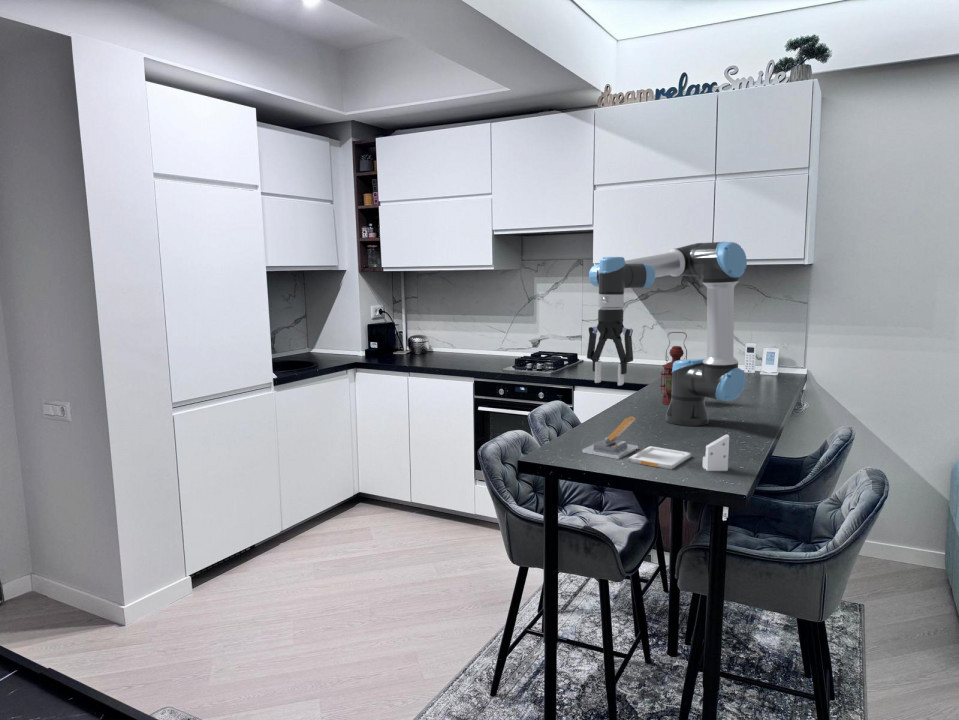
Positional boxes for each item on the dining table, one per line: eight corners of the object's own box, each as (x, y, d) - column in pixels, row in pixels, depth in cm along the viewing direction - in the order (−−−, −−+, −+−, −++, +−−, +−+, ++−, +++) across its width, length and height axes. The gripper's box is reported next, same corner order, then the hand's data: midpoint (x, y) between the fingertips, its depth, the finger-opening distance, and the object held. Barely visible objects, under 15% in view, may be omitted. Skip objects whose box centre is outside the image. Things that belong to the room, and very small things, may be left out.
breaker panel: (603, 442, 215) (603, 435, 215) (637, 448, 208) (638, 441, 208) (582, 452, 204) (582, 444, 204) (618, 458, 197) (618, 450, 197)
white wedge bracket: (743, 461, 185) (729, 435, 184) (712, 479, 186) (697, 453, 184) (738, 458, 189) (724, 432, 188) (707, 475, 189) (693, 450, 188)
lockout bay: (649, 449, 207) (650, 446, 207) (691, 456, 199) (691, 452, 199) (627, 461, 194) (627, 457, 194) (671, 469, 186) (671, 465, 186)
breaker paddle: (610, 437, 209) (632, 415, 203) (614, 441, 208) (636, 419, 203) (603, 440, 204) (624, 418, 199) (607, 445, 204) (629, 422, 199)
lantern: (687, 400, 283) (690, 330, 279) (691, 406, 271) (694, 333, 267) (658, 399, 286) (660, 330, 281) (660, 405, 274) (663, 333, 269)
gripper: (575, 308, 204) (574, 381, 207) (636, 310, 192) (634, 388, 195) (587, 306, 210) (585, 378, 213) (647, 308, 198) (644, 385, 201)
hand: (609, 383), depth 204 cm, fingers open, 7 cm apart
